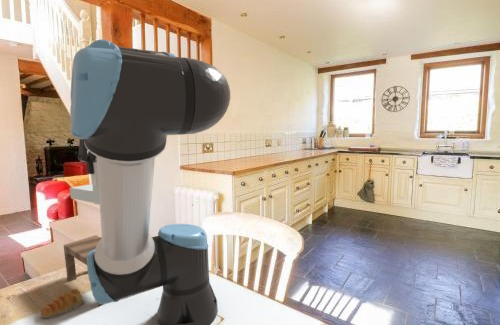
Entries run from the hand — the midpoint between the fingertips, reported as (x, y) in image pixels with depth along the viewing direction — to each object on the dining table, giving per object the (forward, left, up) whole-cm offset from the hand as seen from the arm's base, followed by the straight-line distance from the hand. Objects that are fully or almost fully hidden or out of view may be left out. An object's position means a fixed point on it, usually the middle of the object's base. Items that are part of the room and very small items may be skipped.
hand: (111, 182), depth 80 cm
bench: (+8, +3, -33) cm, 34 cm away
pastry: (+4, +14, -34) cm, 36 cm away
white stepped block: (+8, 0, -6) cm, 10 cm away
